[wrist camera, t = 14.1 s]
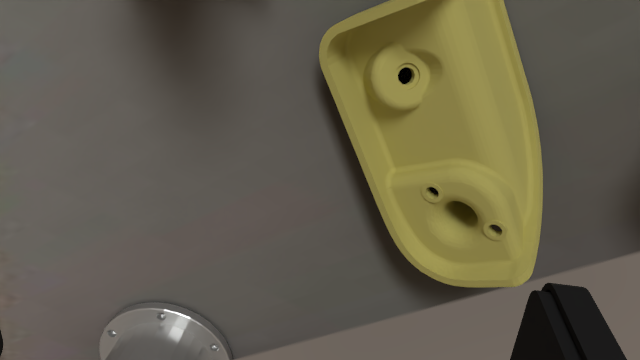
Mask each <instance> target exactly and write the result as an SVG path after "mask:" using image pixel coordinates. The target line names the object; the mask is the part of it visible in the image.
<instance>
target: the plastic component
mask: <svg viewBox="0 0 640 360" xmlns="http://www.w3.org/2000/svg"><path fill="white" fill-rule="evenodd" d="M319 60H320V65H321V69H322V71H323V74H324V76H325V79H326V81H327V84H328V86H329V88H330V91H331V93H332V96H333V98H334V101H335V103H336V106H337V108H338V111H339V113H340V115H341V118H342V120H343V123H344V125H345V128H346V130H347V133H348V135H349V138H350V140H351V142H352V145H353V147H354V150H355V152H356V155H357V157H358V160H359V162H360V165H361V167H362V169H363V172H364V174H365V177H366V179H367V182H368V184H369V187H370V189H371V192H372V194H373V197H374V199H375V201H376V204H377V206H378V208H379V211H380V213H381V215H382V218H383V220H384V222H385V225H386V227H387V229H388V231H389V233H390V235H391V237H392V238H393V240H394V242H395V244H396V245H397V247H398V248H399V250H400V251H401V253H402V254H403V255H404V256H405V257H406V259H407V260H408V261H409V262H410V263H411V264H412V265H413V266H415V267H416V268H417V269H419V270H420V271H421V272H423V273H424V274H426V275H428V276H429V277H431V278H433V279H435V280H437V281H440V282H443V283H445V284H449V285H453V286H460V287H516V286H519V285H521V284H523V283H524V282H525V281H527V280H528V279H529V278H530V276H531V274H532V273H533V269H534V265H535V261H536V256H537V251H538V245H539V239H540V230H541V219H542V201H543V173H542V157H541V147H540V139H539V131H538V126H537V120H536V115H535V110H534V105H533V101H532V97H531V93H530V90H529V86H528V83H527V79H526V76H525V73H524V69H523V66H522V62H521V59H520V56H519V52H518V49H517V45H516V42H515V38H514V35H513V32H512V28H511V25H510V21H509V18H508V15H507V11H506V8H505V4H504V1H503V0H390V1H388V2H385V3H382V4H380V5H377V6H375V7H372V8H370V9H367V10H365V11H362V12H360V13H357V14H355V15H353V16H351V17H349V18H347V19H345V20H343V21H341V22H339V23H337V24H335V25H334V26H332V27H331V28H330V29H328V31H327V32H326V33H325V35H324V36H323V38H322V41H321V44H320V49H319ZM404 67H407V68H409V69H410V70H411V72H412V78H411V80H410V82H408V83H406V84H402V83H401V82H400V81H399V80H398V74H399V71H400V70H401V69H402V68H404ZM429 187H433V188H435V189H436V190H437V191H438V193H439V194H434V193H432V192H431V191H430V189H429ZM492 224H494V225H497V226H499V227H500V228H501V229H502V231H495V230H494V229H493V228H492V227H491V225H492Z"/></svg>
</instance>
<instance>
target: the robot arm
mask: <svg viewBox="0 0 640 360" xmlns="http://www.w3.org/2000/svg"><path fill="white" fill-rule="evenodd" d="M2 350H3V339H2V335H1V331H0V356H1V353H2ZM99 353H100V359H101V360H233V357H232V353H231V350H230V348H229V346H228V344H227V341H226V340H225V338H224V337H223V336H222V334H221V333H220V332H219V331H218V330H217V329H216V328H215V327H214V326H213V325H212V324H211V323H210V322H209V321H207V320H206V319H204V318H203V317H201V316H200V315H198V314H196V313H194V312H192V311H190V310H188V309H186V308H183V307H180V306H176V305H173V304H167V303H158V302H148V303H141V304H136V305H133V306H130V307H127V308H125V309H123V310H122V311H120V312H119V313H117V314H116V315H115V316H114V317H113V318H112V319H111V320H110V321H109V323H108V324H107V326H106V327H105V329H104V330H103V333H102V335H101V338H100V343H99ZM510 360H627V359H626V357H625V355H624V354H623V352H622V350H621V348H620V346H619V345H618V343H617V341H616V339H615V338H614V336H613V334H612V332H611V330H610V329H609V327H608V325H607V323H606V321H605V320H604V318H603V316H602V314H601V312H600V310H599V309H598V307H597V305H596V303H595V301H594V300H593V298H592V296H591V294H590V292H589V291H588V290H587V289H586V288H584V287H578V286H570V285H562V284H553V283H547V284H545V286H544V287H543V288H542V290H541V291H536V290H535V291H532V292H531V294H530V296H529V299H528V302H527V305H526V309H525V312H524V316H523V319H522V322H521V326H520V329H519V332H518V335H517V338H516V342H515V345H514V348H513V352H512V355H511V359H510Z"/></svg>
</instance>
